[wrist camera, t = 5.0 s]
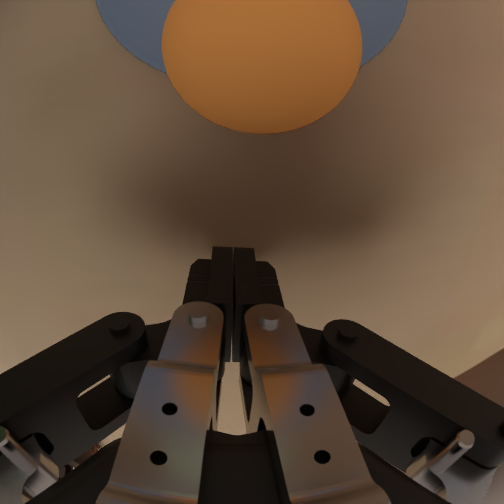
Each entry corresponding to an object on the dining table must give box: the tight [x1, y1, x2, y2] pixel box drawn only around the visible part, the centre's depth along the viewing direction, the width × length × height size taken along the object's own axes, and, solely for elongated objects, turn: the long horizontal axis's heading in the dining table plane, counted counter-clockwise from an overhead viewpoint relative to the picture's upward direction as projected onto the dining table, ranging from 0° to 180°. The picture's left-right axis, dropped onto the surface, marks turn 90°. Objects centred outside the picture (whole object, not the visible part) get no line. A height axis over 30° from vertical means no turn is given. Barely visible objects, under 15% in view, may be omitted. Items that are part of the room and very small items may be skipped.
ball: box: [162, 0, 362, 134], centre depth 7 cm, size 6×6×6 cm
